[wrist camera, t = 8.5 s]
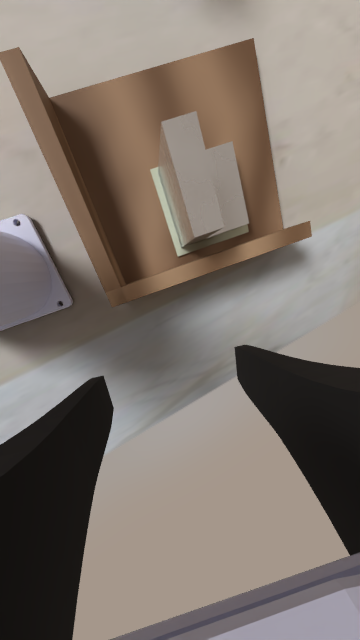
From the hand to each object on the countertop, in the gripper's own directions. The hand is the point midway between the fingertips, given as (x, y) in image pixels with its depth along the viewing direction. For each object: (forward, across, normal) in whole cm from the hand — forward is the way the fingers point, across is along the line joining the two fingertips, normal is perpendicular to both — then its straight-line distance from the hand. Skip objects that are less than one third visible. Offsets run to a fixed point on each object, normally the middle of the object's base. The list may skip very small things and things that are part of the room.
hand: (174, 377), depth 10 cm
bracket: (+9, -5, -11) cm, 15 cm away
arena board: (+10, -4, -12) cm, 16 cm away
